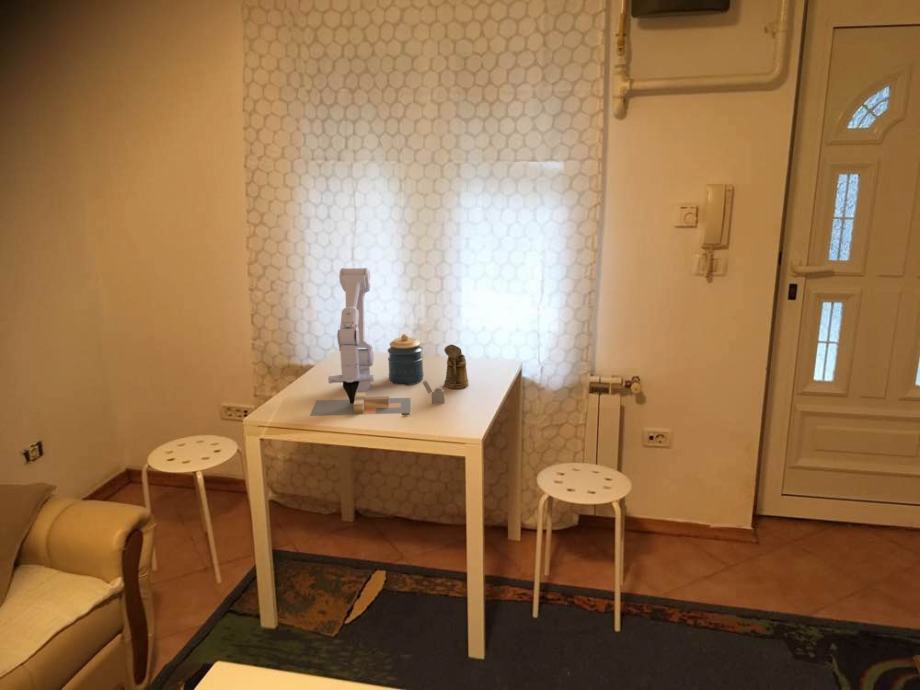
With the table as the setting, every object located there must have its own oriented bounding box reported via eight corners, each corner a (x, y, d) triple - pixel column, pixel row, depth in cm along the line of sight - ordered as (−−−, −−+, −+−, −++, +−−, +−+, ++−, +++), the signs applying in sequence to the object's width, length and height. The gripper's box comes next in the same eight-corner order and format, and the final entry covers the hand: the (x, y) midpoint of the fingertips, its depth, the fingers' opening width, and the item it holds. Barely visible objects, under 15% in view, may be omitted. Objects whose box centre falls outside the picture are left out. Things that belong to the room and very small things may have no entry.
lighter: (444, 401, 236) (443, 379, 234) (444, 403, 235) (443, 381, 232) (423, 402, 236) (422, 380, 233) (423, 404, 234) (422, 381, 232)
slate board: (316, 403, 236) (316, 400, 236) (410, 400, 238) (410, 397, 237) (310, 418, 223) (309, 415, 223) (409, 415, 224) (409, 412, 224)
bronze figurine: (439, 393, 244) (438, 344, 239) (447, 380, 257) (446, 334, 252) (464, 394, 243) (463, 345, 238) (470, 381, 255) (470, 334, 250)
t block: (357, 400, 236) (357, 391, 235) (389, 399, 236) (389, 391, 235) (353, 413, 224) (353, 404, 223) (387, 412, 224) (387, 403, 224)
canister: (409, 387, 250) (407, 340, 245) (381, 381, 257) (379, 335, 252) (430, 377, 260) (429, 332, 255) (403, 372, 267) (401, 328, 262)
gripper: (325, 368, 222) (328, 407, 225) (371, 366, 222) (373, 406, 226) (328, 361, 228) (331, 400, 232) (373, 360, 229) (375, 398, 233)
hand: (352, 402), depth 229 cm, fingers closed
